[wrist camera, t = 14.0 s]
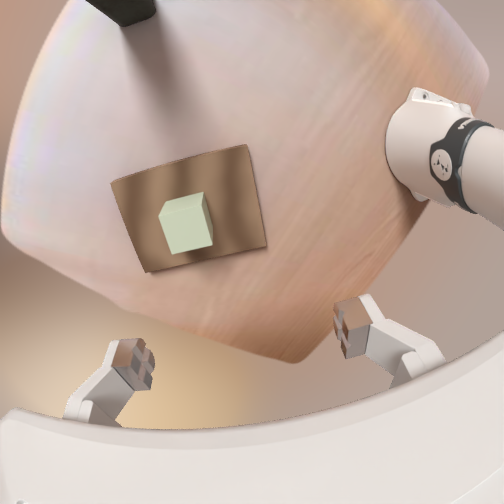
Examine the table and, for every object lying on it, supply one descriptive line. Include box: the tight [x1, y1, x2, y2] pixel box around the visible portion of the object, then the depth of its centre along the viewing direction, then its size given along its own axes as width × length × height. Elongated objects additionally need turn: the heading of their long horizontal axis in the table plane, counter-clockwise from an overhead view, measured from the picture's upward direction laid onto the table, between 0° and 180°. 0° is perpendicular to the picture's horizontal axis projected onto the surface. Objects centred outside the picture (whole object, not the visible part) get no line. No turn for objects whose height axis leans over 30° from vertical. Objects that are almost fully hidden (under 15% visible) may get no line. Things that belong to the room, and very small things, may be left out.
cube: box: [158, 192, 213, 254], centre depth 32 cm, size 5×5×5 cm
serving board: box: [110, 144, 266, 273], centre depth 35 cm, size 18×14×2 cm
